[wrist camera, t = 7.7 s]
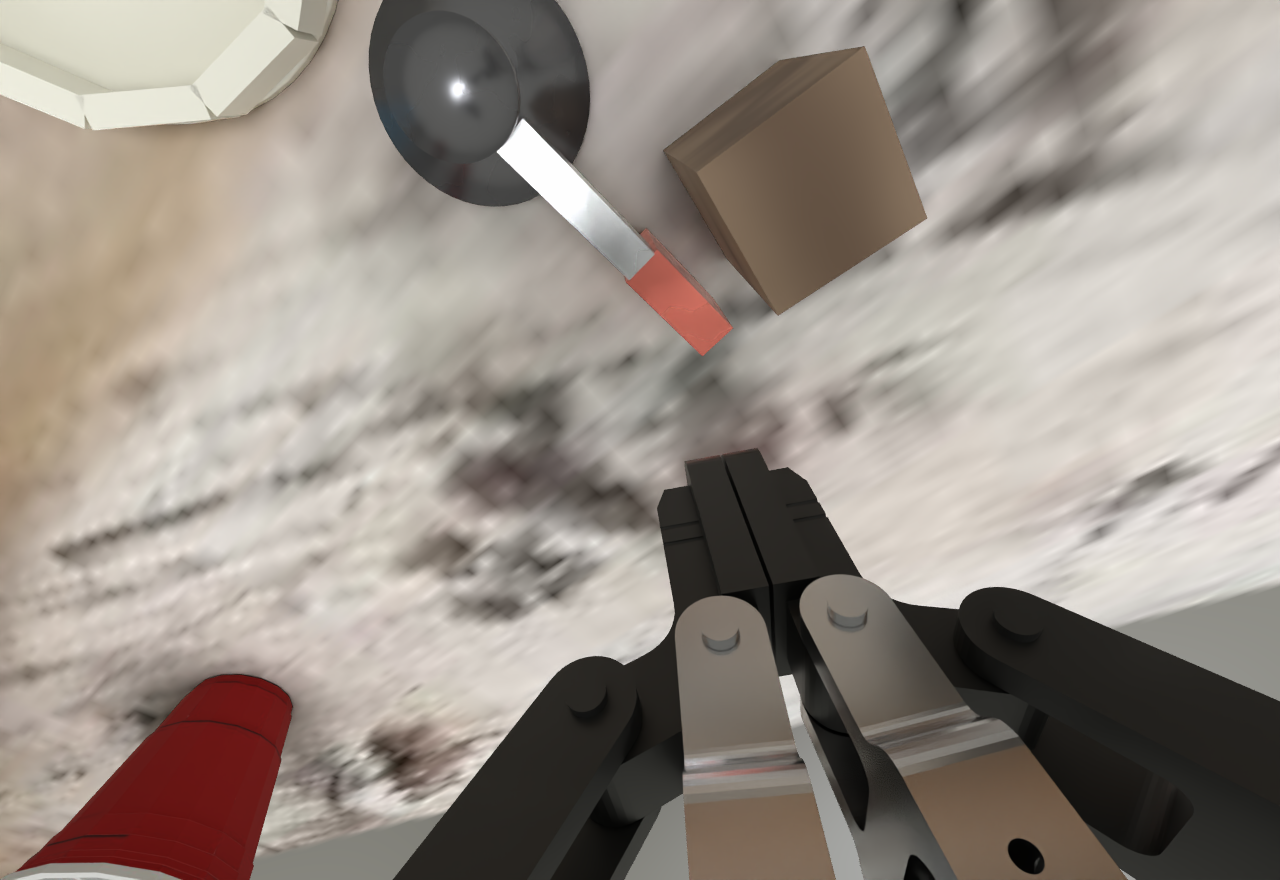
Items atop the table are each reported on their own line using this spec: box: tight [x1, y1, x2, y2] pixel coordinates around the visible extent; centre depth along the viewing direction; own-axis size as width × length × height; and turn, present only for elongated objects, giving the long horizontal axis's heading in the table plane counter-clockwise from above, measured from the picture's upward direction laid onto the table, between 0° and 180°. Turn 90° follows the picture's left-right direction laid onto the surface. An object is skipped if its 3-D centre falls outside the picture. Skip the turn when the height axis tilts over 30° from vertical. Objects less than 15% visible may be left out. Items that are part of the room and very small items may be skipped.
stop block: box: [663, 46, 927, 315], centre depth 19 cm, size 5×5×7 cm
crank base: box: [369, 0, 590, 206], centre depth 17 cm, size 7×7×7 cm
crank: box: [497, 117, 733, 356], centre depth 20 cm, size 10×2×4 cm, turn 45°
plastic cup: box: [1, 675, 292, 880], centre depth 30 cm, size 11×11×12 cm
